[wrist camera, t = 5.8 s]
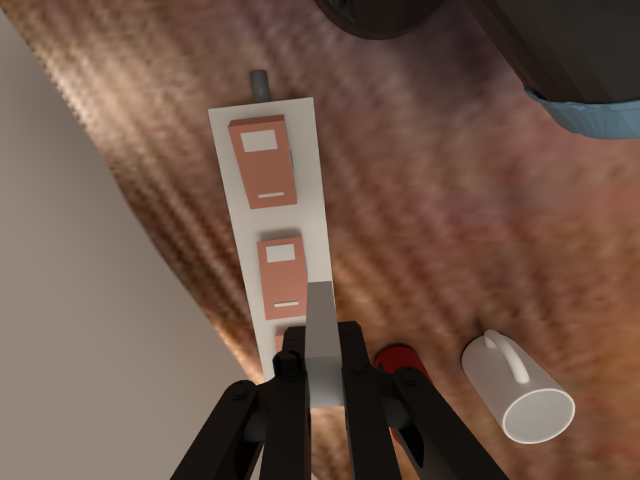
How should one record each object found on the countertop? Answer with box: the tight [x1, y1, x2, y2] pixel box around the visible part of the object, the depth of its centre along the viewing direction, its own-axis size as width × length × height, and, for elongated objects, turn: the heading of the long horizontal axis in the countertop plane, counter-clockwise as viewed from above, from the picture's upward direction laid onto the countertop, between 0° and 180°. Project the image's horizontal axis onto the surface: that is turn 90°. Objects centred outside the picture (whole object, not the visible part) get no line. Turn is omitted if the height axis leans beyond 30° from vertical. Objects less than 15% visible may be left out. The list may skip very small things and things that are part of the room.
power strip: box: [208, 70, 335, 382], centre depth 35 cm, size 37×10×5 cm, turn 6°
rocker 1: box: [228, 114, 297, 209], centre depth 28 cm, size 8×5×2 cm, turn 7°
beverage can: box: [374, 346, 435, 449], centre depth 38 cm, size 7×7×12 cm
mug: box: [462, 329, 575, 444], centre depth 38 cm, size 12×8×10 cm
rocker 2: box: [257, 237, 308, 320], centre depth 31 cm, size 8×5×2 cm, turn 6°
